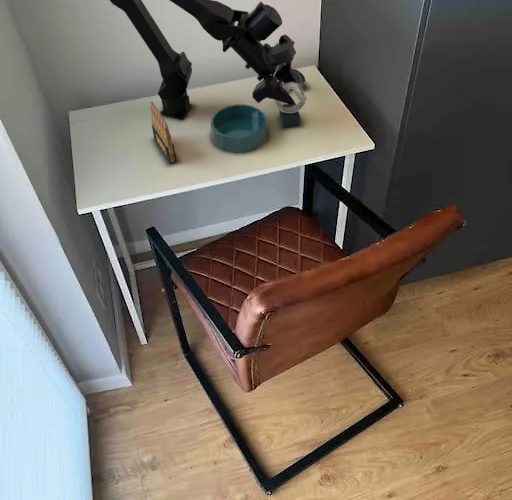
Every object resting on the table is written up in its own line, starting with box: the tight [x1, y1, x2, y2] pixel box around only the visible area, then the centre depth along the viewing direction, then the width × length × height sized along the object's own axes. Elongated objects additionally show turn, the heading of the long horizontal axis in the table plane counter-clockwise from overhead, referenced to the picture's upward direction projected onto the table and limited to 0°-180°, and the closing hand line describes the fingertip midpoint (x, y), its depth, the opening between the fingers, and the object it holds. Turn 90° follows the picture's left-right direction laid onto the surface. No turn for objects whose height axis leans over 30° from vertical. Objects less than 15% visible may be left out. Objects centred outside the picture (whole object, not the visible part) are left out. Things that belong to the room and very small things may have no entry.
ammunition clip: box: [149, 100, 178, 165], centre depth 139 cm, size 11×2×12 cm, turn 27°
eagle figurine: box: [275, 68, 308, 93], centre depth 158 cm, size 8×7×9 cm
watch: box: [274, 82, 307, 129], centre depth 146 cm, size 6×8×11 cm
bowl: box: [210, 103, 268, 154], centre depth 145 cm, size 14×14×4 cm
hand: (296, 96), depth 145 cm, fingers closed on watch, 6 cm apart
